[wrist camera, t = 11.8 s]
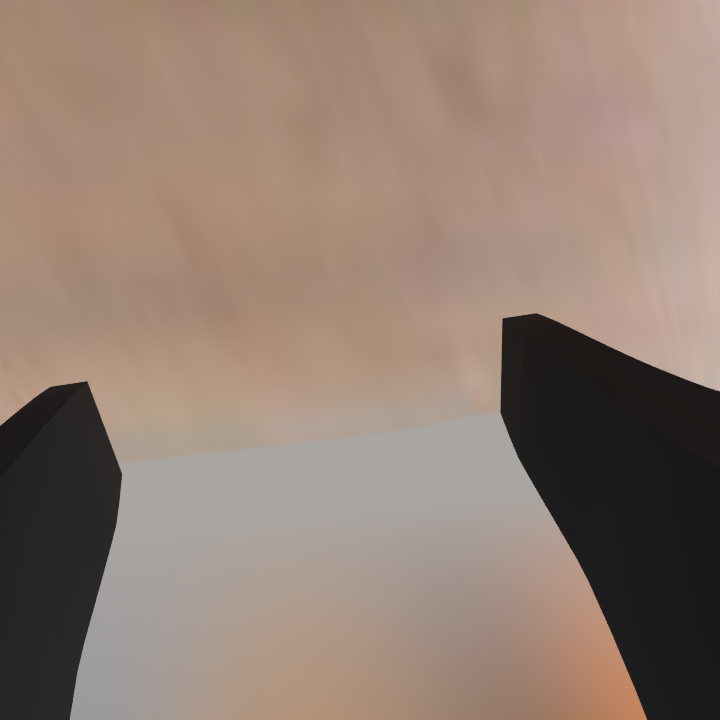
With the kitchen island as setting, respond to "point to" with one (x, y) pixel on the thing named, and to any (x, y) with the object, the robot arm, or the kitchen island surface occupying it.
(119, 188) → the kitchen island surface
